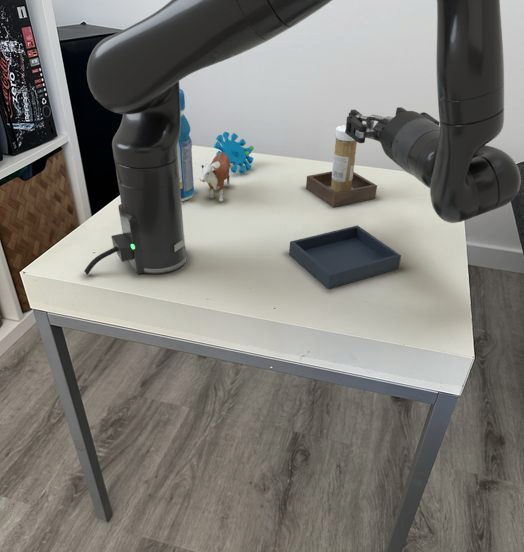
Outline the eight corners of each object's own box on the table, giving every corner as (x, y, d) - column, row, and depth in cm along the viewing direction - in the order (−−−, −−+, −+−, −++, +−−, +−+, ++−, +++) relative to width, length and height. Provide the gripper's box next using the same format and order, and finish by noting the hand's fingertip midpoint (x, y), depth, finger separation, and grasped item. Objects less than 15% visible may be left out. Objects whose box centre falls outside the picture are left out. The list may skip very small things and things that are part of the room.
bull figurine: (197, 207, 104) (195, 167, 99) (216, 182, 114) (215, 144, 109) (219, 210, 104) (217, 169, 98) (236, 184, 114) (235, 146, 109)
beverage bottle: (202, 197, 108) (196, 93, 95) (165, 206, 104) (154, 99, 91) (183, 184, 113) (175, 83, 101) (147, 192, 110) (134, 88, 97)
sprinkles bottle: (355, 194, 111) (364, 129, 102) (338, 199, 109) (346, 132, 100) (341, 187, 114) (349, 122, 105) (324, 191, 112) (331, 126, 103)
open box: (333, 207, 106) (334, 194, 104) (305, 188, 113) (306, 175, 111) (375, 198, 110) (377, 185, 108) (346, 180, 117) (347, 168, 115)
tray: (328, 288, 82) (329, 275, 81) (289, 254, 91) (289, 241, 89) (398, 268, 88) (401, 255, 86) (355, 237, 96) (357, 225, 94)
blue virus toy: (229, 173, 114) (210, 131, 114) (215, 186, 119) (197, 146, 119) (264, 167, 121) (247, 128, 121) (250, 180, 126) (233, 142, 126)
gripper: (465, 116, 78) (416, 89, 90) (376, 121, 75) (338, 92, 87) (453, 166, 82) (408, 134, 95) (368, 172, 80) (333, 139, 92)
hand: (374, 114), depth 91 cm, fingers open, 8 cm apart
